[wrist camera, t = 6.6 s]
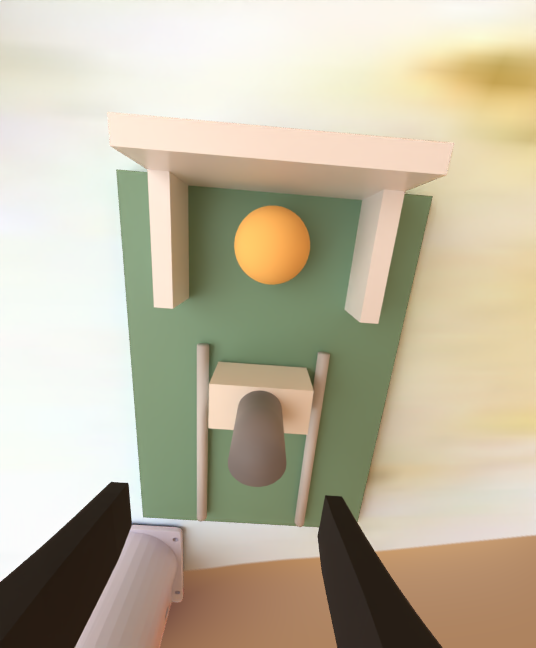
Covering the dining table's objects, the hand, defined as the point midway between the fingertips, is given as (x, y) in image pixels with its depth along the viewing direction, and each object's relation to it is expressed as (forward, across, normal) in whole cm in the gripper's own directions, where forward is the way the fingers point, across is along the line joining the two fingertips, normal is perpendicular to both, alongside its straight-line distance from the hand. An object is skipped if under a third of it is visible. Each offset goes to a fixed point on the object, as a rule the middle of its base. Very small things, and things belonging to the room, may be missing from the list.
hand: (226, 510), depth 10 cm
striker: (+9, -1, 0) cm, 9 cm away
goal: (+9, -1, -10) cm, 13 cm away
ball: (+7, -1, -9) cm, 12 cm away
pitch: (+10, -1, 0) cm, 10 cm away
